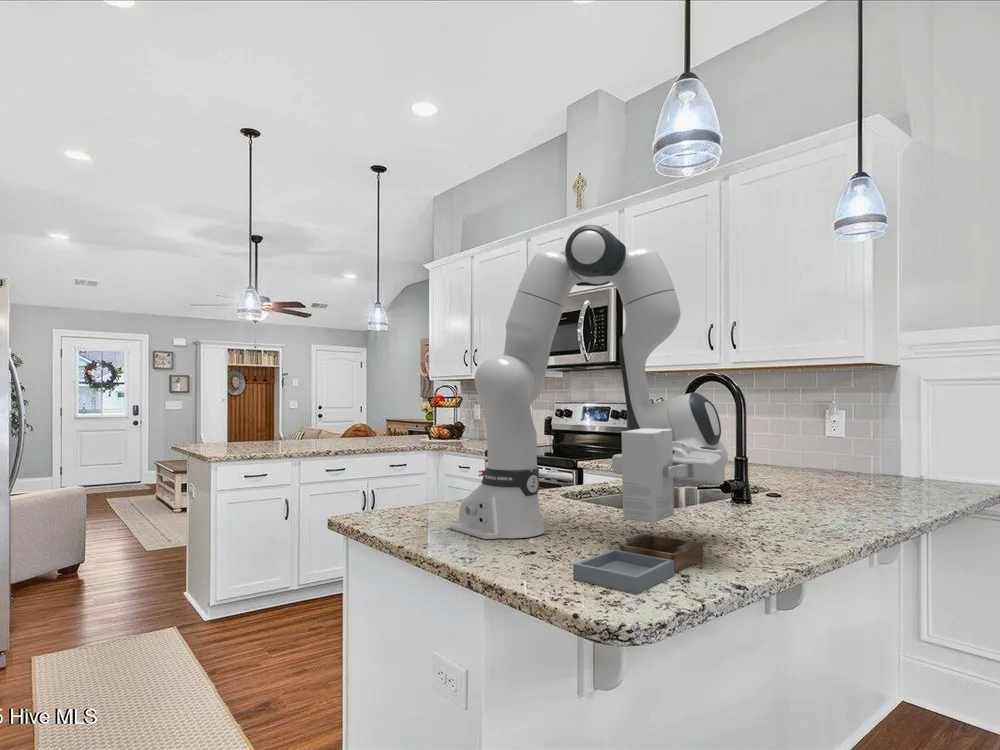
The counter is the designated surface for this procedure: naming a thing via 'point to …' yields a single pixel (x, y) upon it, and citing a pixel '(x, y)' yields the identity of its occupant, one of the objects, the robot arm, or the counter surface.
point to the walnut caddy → (666, 549)
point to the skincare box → (647, 474)
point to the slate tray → (624, 571)
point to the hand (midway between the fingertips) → (645, 470)
